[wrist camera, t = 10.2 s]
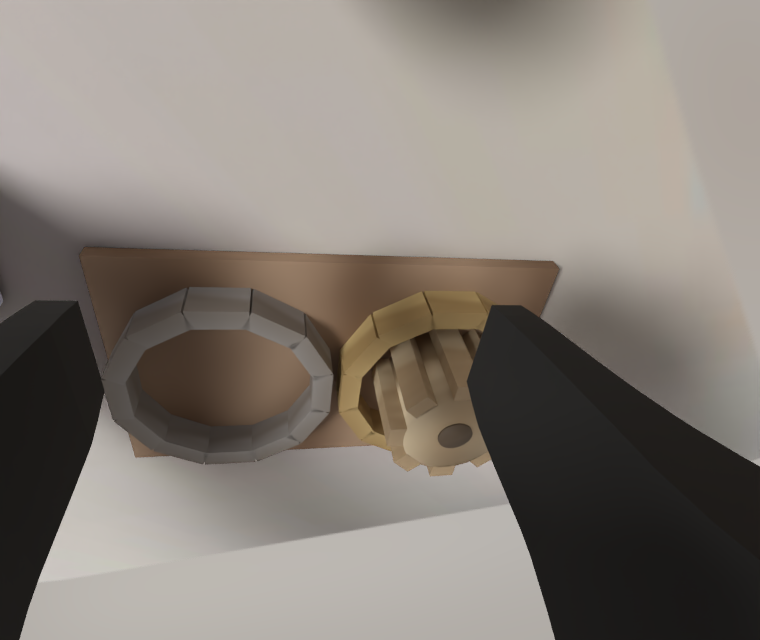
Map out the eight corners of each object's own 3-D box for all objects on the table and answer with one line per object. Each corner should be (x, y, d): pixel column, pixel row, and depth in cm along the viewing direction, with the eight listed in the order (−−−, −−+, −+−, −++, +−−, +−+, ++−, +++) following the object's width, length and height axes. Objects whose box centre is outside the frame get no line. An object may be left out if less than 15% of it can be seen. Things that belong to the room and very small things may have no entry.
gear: (366, 408, 24) (380, 481, 20) (380, 319, 20) (399, 390, 17) (471, 404, 25) (499, 473, 21) (500, 320, 21) (539, 387, 18)
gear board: (138, 447, 24) (127, 485, 22) (84, 246, 17) (63, 280, 15) (485, 430, 27) (498, 462, 26) (552, 261, 21) (576, 289, 19)
